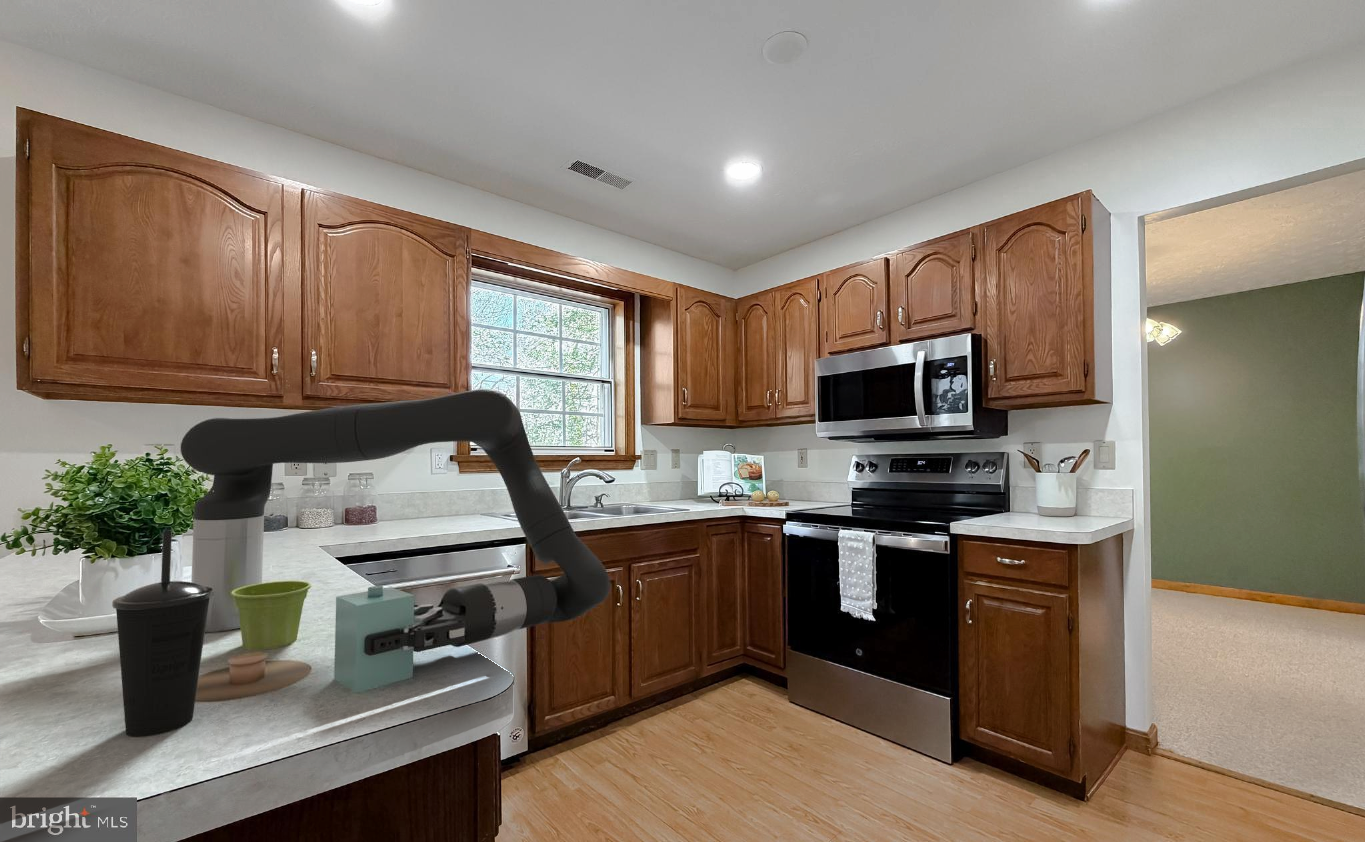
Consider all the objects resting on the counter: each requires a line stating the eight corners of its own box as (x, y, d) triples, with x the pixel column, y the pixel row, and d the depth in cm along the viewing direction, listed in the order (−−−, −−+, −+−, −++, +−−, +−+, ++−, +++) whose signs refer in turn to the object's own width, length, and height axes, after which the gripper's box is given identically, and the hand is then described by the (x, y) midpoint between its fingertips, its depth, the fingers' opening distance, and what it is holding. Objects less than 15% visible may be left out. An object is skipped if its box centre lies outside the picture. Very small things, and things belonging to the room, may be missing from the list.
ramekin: (223, 679, 72) (224, 657, 72) (261, 670, 75) (262, 650, 75) (231, 687, 69) (232, 665, 69) (270, 678, 72) (271, 656, 72)
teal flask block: (334, 682, 72) (336, 588, 72) (389, 667, 77) (391, 579, 77) (355, 696, 68) (357, 596, 68) (412, 680, 72) (414, 586, 73)
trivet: (165, 689, 71) (165, 680, 71) (291, 660, 81) (292, 653, 81) (188, 722, 63) (189, 712, 63) (327, 685, 72) (327, 676, 72)
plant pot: (324, 640, 90) (326, 581, 90) (276, 662, 80) (278, 596, 81) (265, 638, 91) (267, 580, 91) (211, 660, 81) (213, 594, 82)
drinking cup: (197, 711, 65) (204, 523, 66) (218, 732, 60) (225, 529, 61) (99, 737, 59) (108, 531, 60) (114, 763, 54) (123, 538, 55)
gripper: (457, 576, 88) (331, 597, 75) (514, 591, 78) (380, 618, 66) (456, 628, 88) (329, 658, 75) (513, 650, 78) (378, 688, 66)
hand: (354, 639), depth 71 cm, fingers closed on teal flask block, 6 cm apart
